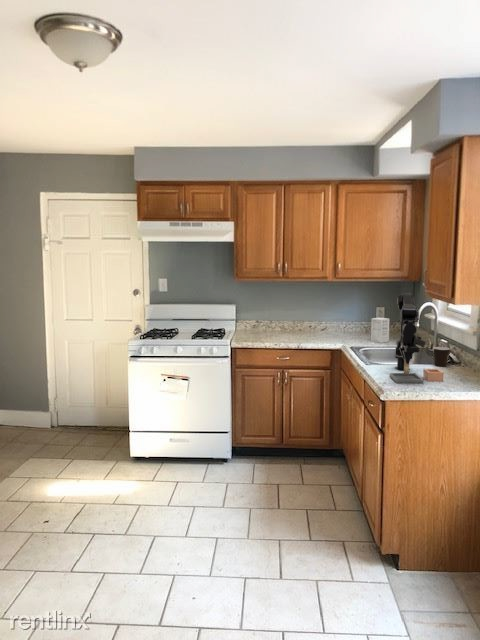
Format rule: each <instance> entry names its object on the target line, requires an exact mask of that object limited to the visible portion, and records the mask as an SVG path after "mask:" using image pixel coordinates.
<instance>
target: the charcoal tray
mask: <svg viewBox="0 0 480 640" xmlns="http://www.w3.org/2000/svg"><path fill="white" fill-rule="evenodd" d="M389 378H390V379H391V380H392V381H393V383H395V384H414V385H415V384H417V385H419V384H421V385H422V384H423V385H424V380H425V379H424V378H423V377H421V376H420V375H418V374H417V373H416V372H412V373H411V372H409V375H408V376H407V375H404V372H389Z"/></svg>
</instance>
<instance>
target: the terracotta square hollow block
mask: <svg viewBox="0 0 480 640" xmlns="http://www.w3.org/2000/svg"><path fill="white" fill-rule="evenodd" d="M444 373H445V372H443V371H442V370H440V369H439V368H423V373H422V374H423V375H422V379H423V380H426V381H427V382H444Z"/></svg>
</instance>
